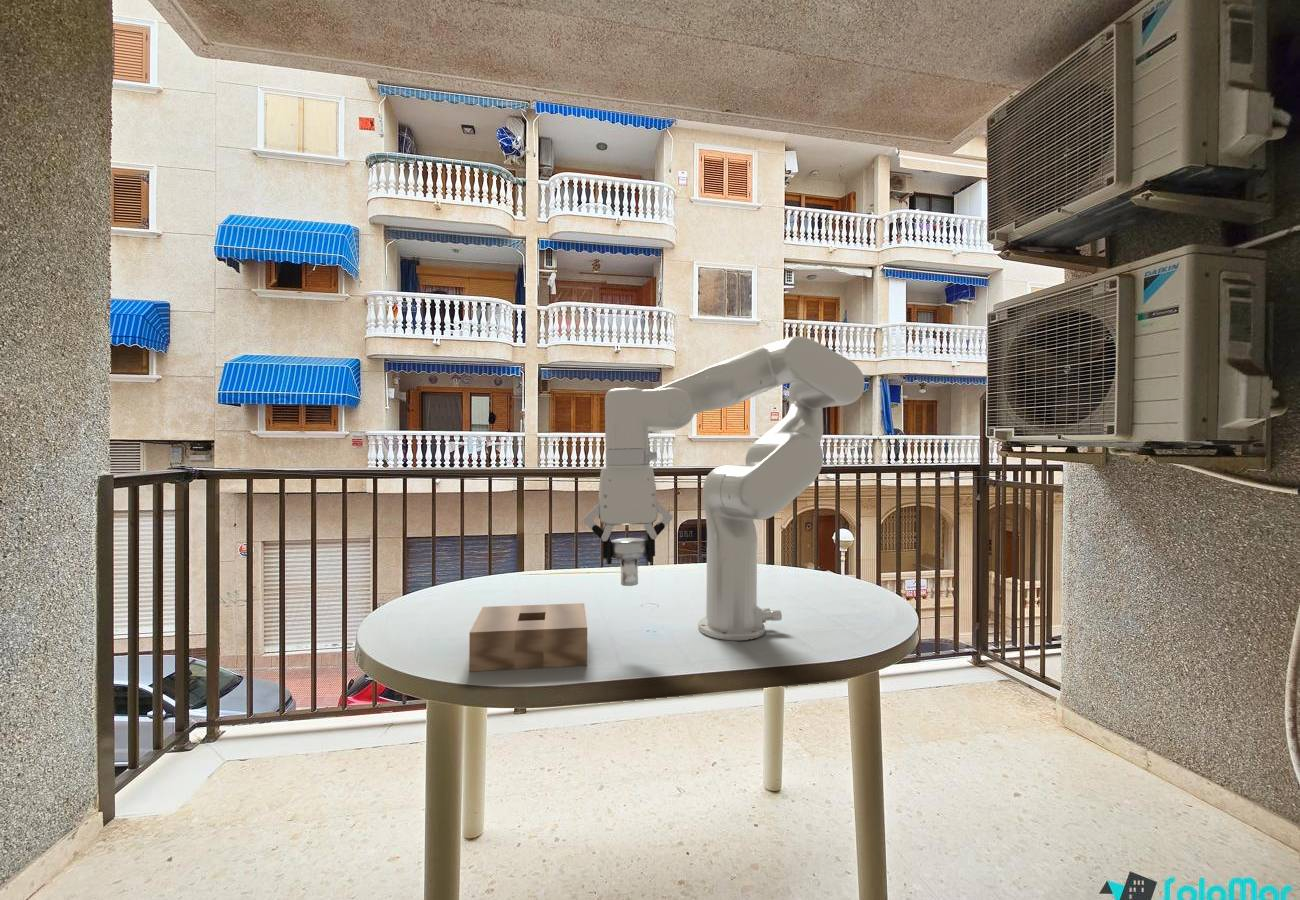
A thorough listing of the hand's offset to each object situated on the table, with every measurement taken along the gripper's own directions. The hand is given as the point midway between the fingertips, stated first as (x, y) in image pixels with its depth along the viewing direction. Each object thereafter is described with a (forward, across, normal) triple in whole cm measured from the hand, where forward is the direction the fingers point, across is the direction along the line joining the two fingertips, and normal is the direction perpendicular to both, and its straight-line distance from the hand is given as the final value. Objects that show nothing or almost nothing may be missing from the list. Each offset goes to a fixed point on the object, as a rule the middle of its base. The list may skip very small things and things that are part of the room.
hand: (628, 560), depth 97 cm
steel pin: (+4, 0, 0) cm, 4 cm away
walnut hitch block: (+14, +17, +1) cm, 22 cm away
